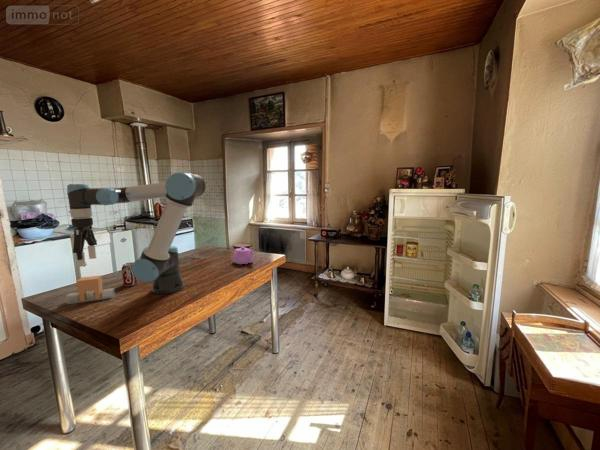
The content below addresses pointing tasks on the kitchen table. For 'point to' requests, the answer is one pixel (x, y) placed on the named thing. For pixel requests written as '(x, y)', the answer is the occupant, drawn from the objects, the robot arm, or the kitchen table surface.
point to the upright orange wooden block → (89, 286)
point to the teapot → (243, 256)
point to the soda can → (128, 275)
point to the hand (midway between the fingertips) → (87, 262)
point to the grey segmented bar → (90, 296)
